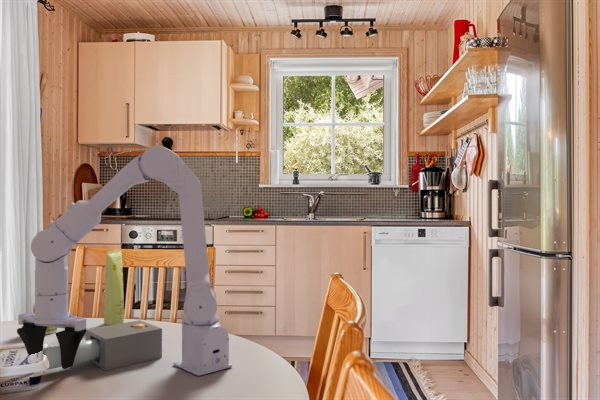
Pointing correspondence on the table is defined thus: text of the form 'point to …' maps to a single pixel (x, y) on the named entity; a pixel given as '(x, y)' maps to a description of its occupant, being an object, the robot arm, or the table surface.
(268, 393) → the table surface
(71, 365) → the robot arm
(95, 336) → the housing
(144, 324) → the plunger
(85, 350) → the cylinder
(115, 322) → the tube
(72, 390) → the table surface
